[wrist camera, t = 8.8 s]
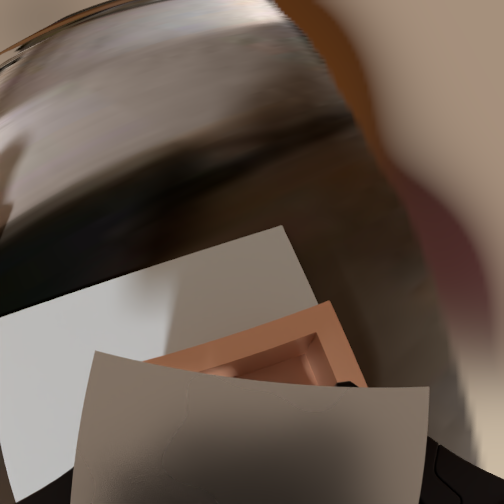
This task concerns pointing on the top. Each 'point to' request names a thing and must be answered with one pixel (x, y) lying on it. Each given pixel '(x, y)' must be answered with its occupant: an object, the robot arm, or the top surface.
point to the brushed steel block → (244, 440)
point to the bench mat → (129, 338)
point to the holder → (278, 352)
